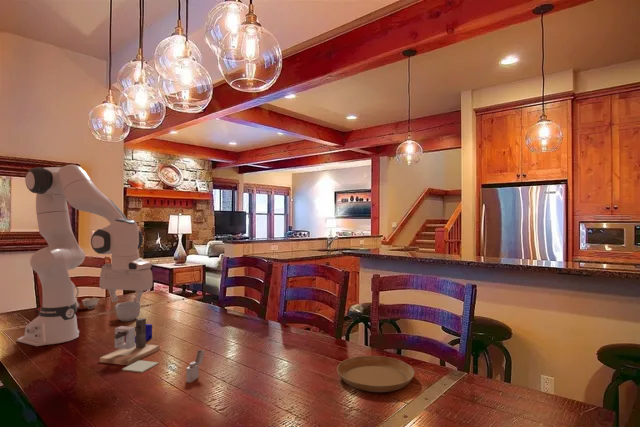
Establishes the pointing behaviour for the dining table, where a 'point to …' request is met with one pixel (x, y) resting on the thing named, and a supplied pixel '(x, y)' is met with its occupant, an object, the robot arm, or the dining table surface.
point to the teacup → (127, 311)
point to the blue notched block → (148, 332)
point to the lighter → (194, 367)
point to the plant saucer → (375, 373)
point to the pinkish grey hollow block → (129, 337)
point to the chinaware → (86, 301)
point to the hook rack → (134, 353)
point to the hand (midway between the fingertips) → (125, 302)
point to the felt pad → (140, 366)
